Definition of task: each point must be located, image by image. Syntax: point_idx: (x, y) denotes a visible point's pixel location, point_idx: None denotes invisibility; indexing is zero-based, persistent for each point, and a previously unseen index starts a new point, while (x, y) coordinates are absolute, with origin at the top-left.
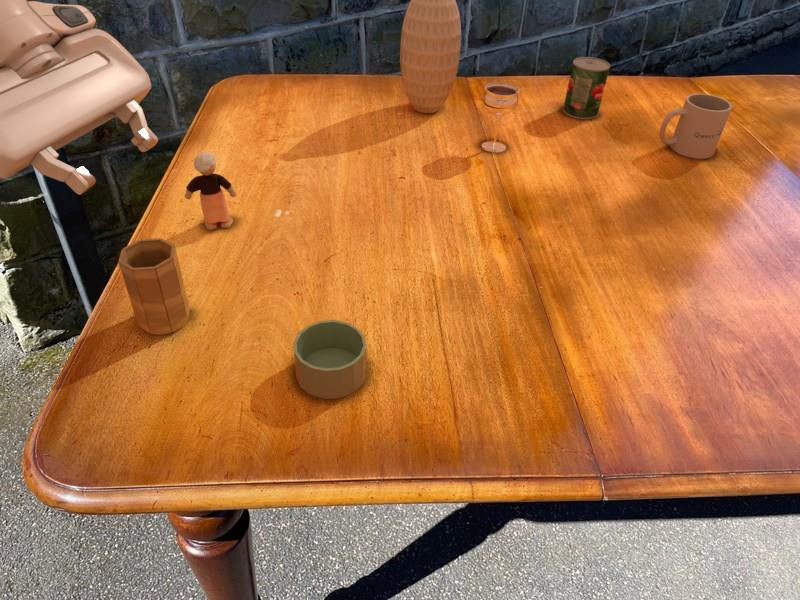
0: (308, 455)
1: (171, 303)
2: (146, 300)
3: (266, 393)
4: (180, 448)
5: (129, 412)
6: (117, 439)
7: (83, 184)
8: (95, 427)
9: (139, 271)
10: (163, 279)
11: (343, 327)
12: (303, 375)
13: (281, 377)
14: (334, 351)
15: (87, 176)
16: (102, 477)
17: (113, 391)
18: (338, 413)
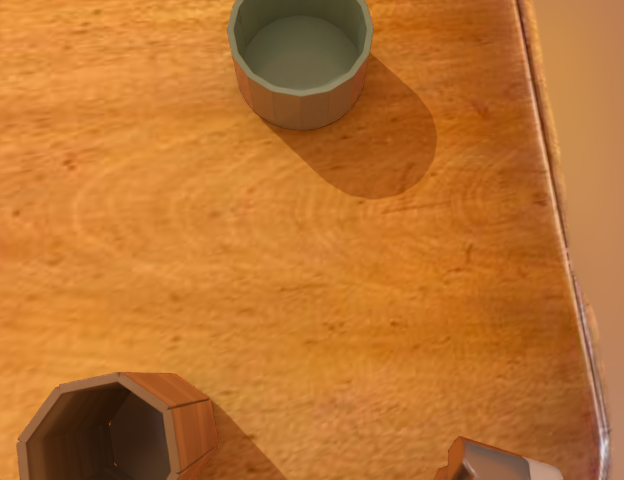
0: (484, 86)
1: (182, 391)
2: (199, 444)
3: (360, 174)
4: (499, 293)
5: (431, 414)
6: (495, 413)
7: (558, 478)
8: None
9: (179, 453)
10: (169, 396)
11: (239, 16)
12: (353, 89)
13: (318, 155)
14: (251, 66)
15: (500, 476)
16: (577, 408)
17: (382, 468)
18: (393, 50)
